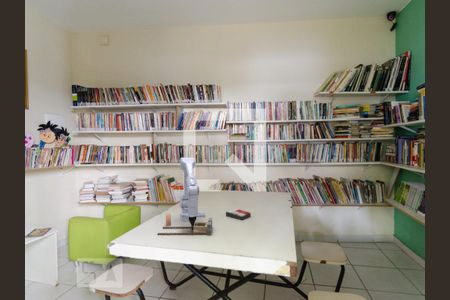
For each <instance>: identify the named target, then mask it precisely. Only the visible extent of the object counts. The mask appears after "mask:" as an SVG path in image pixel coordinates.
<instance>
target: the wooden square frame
mask: <svg viewBox="0 0 450 300" xmlns="http://www.w3.org/2000/svg"><path fill="white" fill-rule="evenodd" d="M207 224H208V221H201V222H200V221H195V224H194V227H193V230H192V231H193V232H192V233H207Z"/></svg>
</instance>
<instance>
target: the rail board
mask: <svg viewBox="0 0 450 300" xmlns="http://www.w3.org/2000/svg"><path fill="white" fill-rule="evenodd" d="M207 222H208V224H207V233H193V232H158V233H157V236H208V237H211V236H212V231H213V217H208V221H207ZM162 229H163V230H170V229H171V230H178V229H179V230H187V229H189V230H192V226H163V227H162Z"/></svg>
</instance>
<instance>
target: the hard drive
mask: <svg viewBox="0 0 450 300" xmlns="http://www.w3.org/2000/svg"><path fill="white" fill-rule="evenodd" d="M225 216H226V217H228V218H232V219H235V220H238V221H245V220H246V219H249V218H251V216H252V214H251V212H249V211H246V210H244V209H243V210H242V209H238V208H233V209H230V210H227V211H225Z"/></svg>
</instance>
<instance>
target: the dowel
mask: <svg viewBox="0 0 450 300" xmlns="http://www.w3.org/2000/svg"><path fill="white" fill-rule="evenodd" d="M165 227H172V214H170V213H167V214H166V215H165Z"/></svg>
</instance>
